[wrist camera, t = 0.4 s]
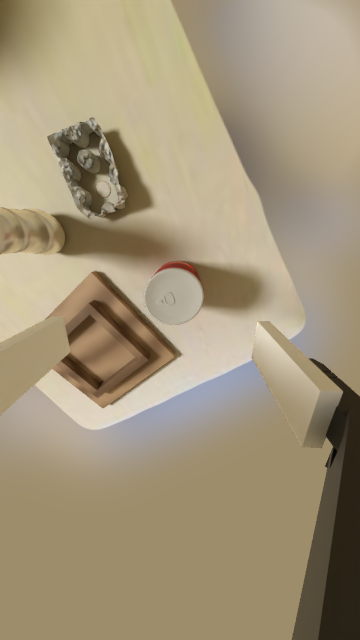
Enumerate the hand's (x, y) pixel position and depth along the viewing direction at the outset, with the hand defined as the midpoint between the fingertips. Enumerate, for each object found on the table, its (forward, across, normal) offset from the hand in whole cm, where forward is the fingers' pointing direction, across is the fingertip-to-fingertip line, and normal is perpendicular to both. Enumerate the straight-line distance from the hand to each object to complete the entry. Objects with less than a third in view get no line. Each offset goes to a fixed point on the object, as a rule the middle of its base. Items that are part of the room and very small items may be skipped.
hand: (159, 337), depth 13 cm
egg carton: (+24, -12, +15) cm, 31 cm away
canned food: (+24, 0, 0) cm, 24 cm away
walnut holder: (+24, -16, -14) cm, 32 cm away
